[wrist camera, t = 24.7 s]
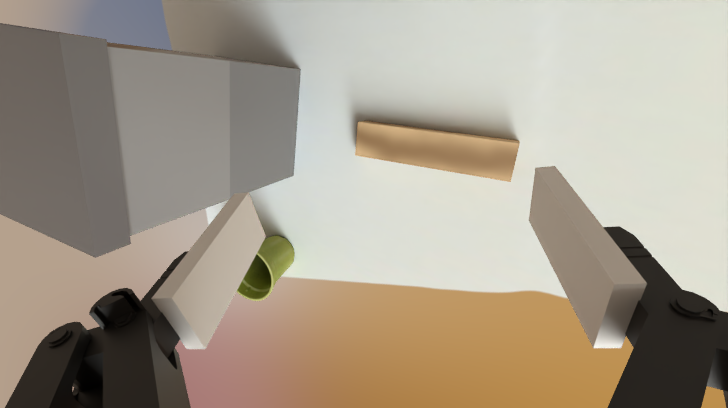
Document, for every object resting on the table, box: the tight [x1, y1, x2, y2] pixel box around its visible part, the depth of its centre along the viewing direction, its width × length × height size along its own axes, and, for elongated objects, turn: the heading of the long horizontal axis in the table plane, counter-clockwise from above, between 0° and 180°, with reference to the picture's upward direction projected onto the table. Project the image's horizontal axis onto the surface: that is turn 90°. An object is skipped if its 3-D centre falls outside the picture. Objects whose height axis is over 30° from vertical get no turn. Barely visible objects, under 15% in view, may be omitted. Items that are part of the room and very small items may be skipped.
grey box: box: [0, 23, 300, 257], centre depth 42 cm, size 17×17×30 cm
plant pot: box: [236, 235, 294, 301], centre depth 57 cm, size 9×9×9 cm
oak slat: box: [355, 121, 519, 182], centre depth 44 cm, size 4×20×3 cm, turn 85°
